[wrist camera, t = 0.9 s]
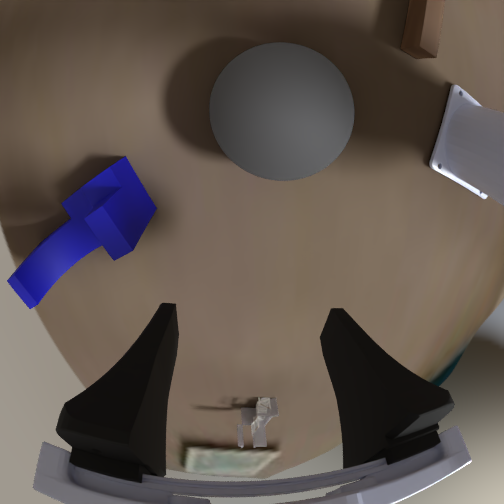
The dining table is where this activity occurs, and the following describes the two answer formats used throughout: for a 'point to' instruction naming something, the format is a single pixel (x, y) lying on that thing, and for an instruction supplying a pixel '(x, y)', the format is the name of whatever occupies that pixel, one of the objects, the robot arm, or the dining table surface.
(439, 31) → the frame
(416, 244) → the dining table surface
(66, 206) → the blue curved piece
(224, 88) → the grey round dome
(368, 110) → the dining table surface
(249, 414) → the architectural model
